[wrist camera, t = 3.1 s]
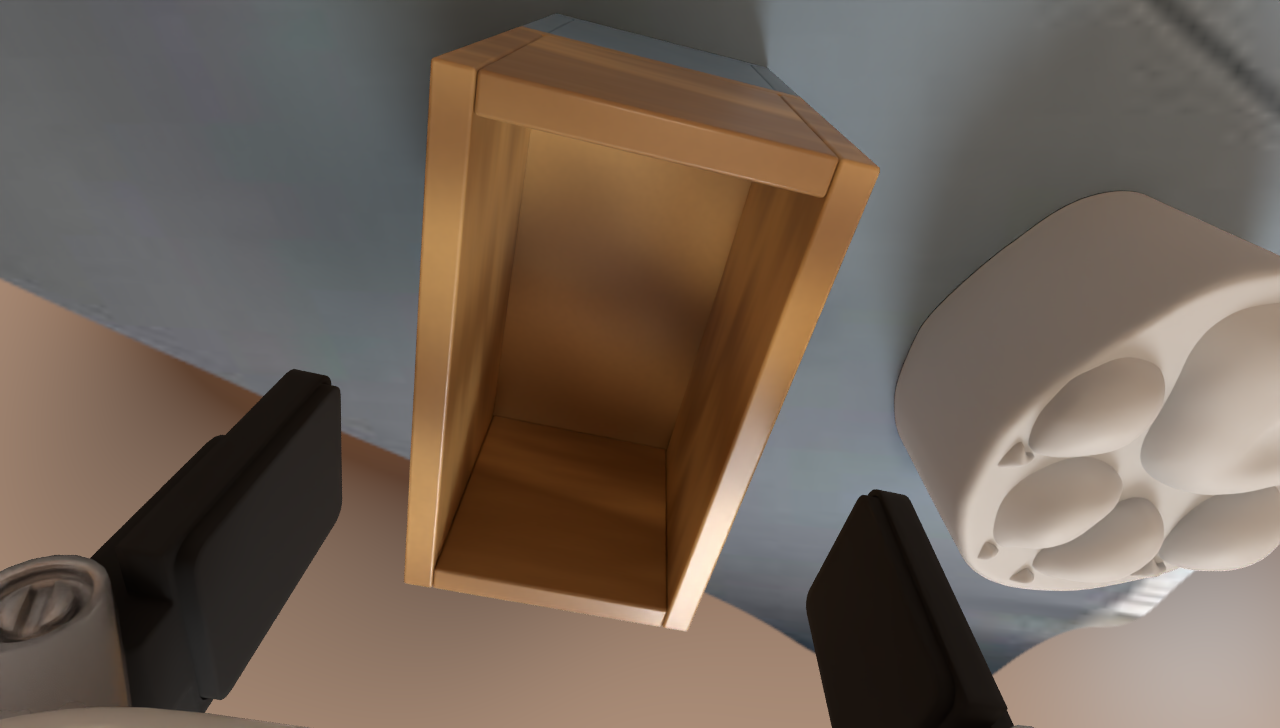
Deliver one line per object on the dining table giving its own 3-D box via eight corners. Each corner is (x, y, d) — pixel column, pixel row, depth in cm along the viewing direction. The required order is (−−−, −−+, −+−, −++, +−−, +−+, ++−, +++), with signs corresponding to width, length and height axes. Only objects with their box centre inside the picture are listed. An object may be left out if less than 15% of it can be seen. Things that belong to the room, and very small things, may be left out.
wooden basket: (681, 457, 22) (688, 633, 16) (474, 416, 22) (403, 584, 16) (802, 96, 16) (883, 168, 10) (519, 25, 16) (430, 57, 10)
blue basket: (677, 367, 28) (681, 457, 22) (510, 332, 27) (474, 416, 22) (768, 67, 21) (802, 96, 16) (554, 12, 21) (519, 25, 16)
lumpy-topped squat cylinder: (1261, 322, 26) (1505, 464, 18) (983, 507, 31) (1083, 674, 24) (1115, 152, 22) (1338, 240, 15) (834, 391, 28) (896, 542, 20)
